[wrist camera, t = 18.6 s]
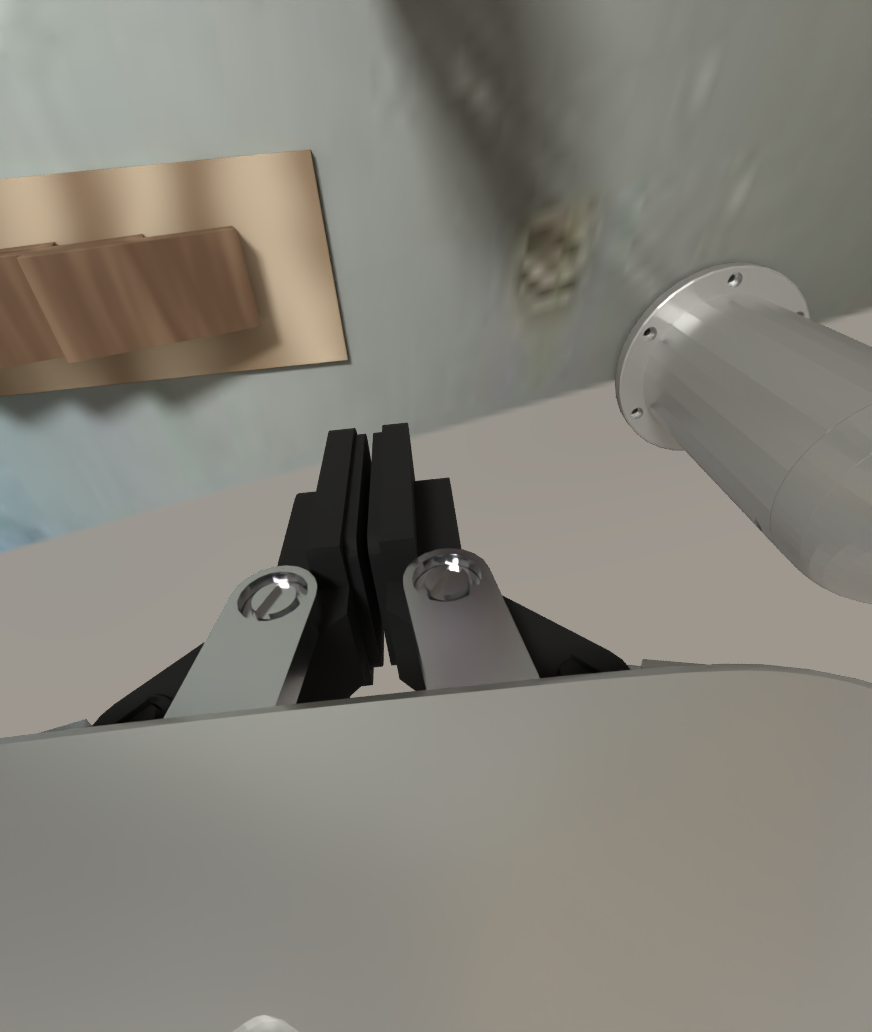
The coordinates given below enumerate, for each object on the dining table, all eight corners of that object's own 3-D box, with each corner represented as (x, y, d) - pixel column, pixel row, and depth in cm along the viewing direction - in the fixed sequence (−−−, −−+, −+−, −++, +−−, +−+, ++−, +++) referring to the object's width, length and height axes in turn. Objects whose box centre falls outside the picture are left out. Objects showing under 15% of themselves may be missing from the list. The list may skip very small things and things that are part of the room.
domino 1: (142, 237, 27) (-89, 270, 25) (177, 334, 30) (-25, 373, 28) (142, 233, 29) (-79, 264, 26) (176, 327, 32) (-18, 364, 29)
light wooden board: (310, 149, 27) (310, 149, 27) (347, 357, 34) (347, 359, 34) (-204, 198, 27) (-211, 199, 26) (-65, 400, 33) (-70, 403, 33)
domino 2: (236, 229, 28) (16, 258, 25) (261, 326, 31) (68, 363, 28) (232, 225, 29) (22, 253, 26) (257, 319, 32) (71, 354, 29)
